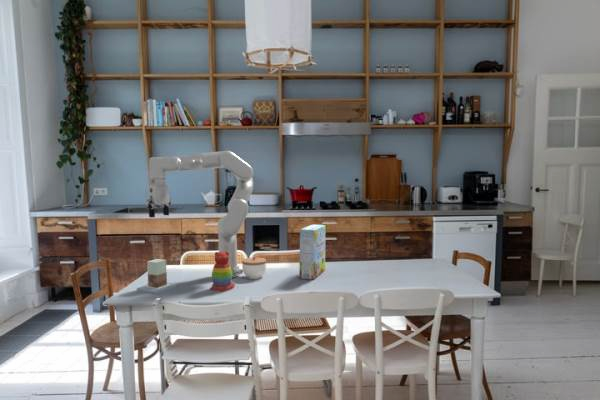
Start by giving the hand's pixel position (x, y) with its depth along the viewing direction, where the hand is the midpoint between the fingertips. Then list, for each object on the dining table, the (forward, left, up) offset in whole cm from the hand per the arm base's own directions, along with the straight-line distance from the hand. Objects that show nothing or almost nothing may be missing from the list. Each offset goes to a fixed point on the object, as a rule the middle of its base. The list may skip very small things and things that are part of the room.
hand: (159, 216), depth 211 cm
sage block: (-7, +10, -26) cm, 29 cm away
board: (-7, +10, -33) cm, 35 cm away
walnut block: (-7, +10, -32) cm, 34 cm away
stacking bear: (-36, -2, -34) cm, 49 cm away
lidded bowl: (-39, -26, -34) cm, 58 cm away
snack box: (-65, -43, -34) cm, 85 cm away
